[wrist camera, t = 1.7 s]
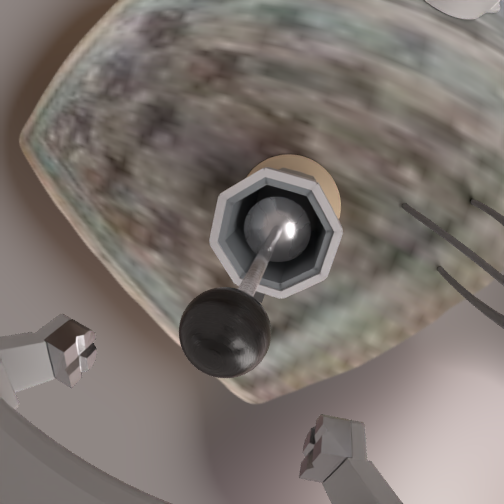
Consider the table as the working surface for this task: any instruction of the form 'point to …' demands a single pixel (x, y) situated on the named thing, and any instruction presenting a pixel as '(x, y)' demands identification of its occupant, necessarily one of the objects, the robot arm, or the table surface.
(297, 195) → the grey octagonal cup
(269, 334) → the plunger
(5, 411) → the robot arm
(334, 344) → the table surface
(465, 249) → the citrus juicer
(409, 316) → the table surface
